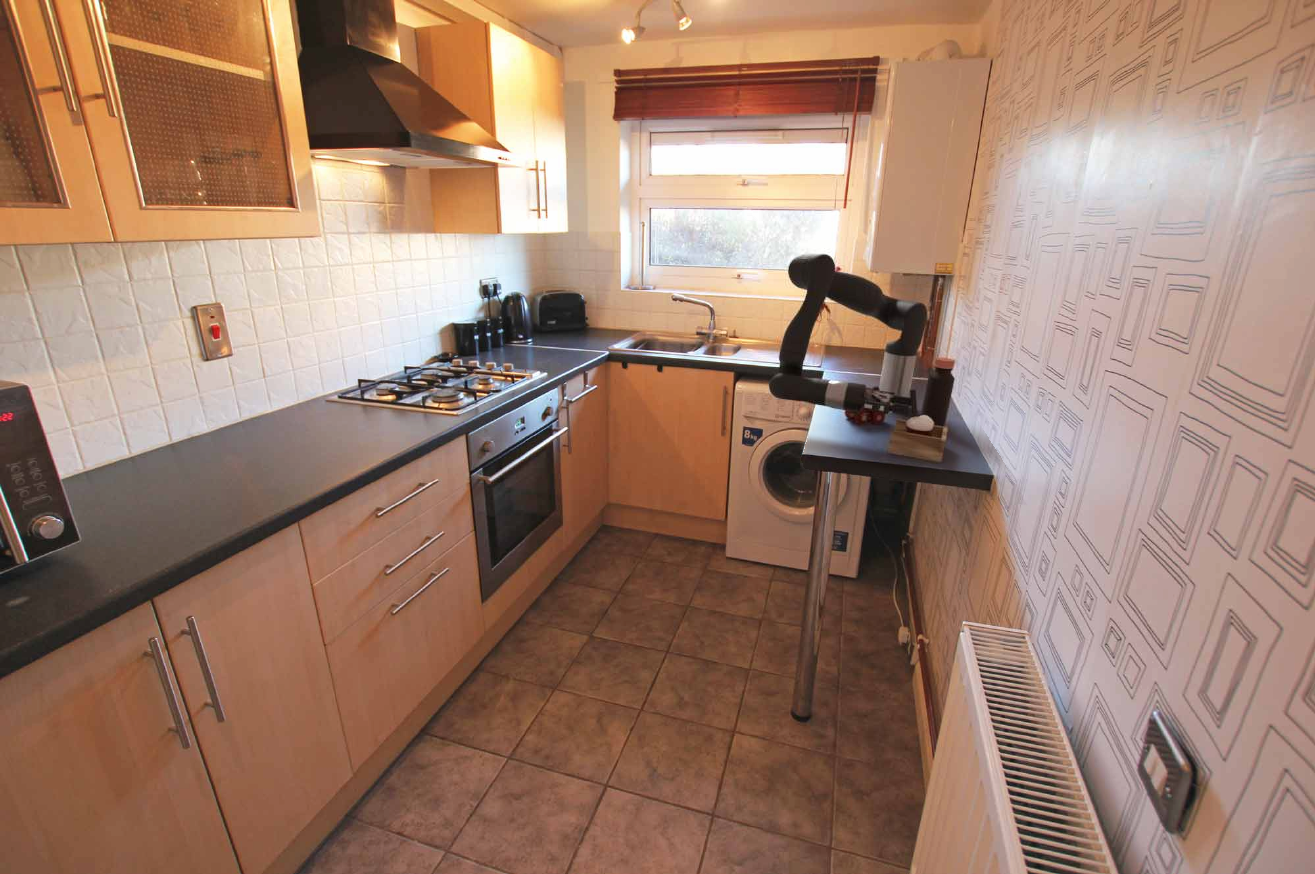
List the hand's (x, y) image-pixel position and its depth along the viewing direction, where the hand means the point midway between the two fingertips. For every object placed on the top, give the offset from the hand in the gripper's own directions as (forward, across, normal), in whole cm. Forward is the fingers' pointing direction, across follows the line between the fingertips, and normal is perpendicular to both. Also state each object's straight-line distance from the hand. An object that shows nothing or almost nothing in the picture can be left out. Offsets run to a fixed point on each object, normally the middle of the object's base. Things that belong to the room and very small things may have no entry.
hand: (910, 406), depth 154 cm
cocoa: (+3, 0, +9) cm, 9 cm away
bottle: (+6, +23, +11) cm, 26 cm away
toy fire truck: (-12, +18, +11) cm, 25 cm away
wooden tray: (+3, 0, +11) cm, 11 cm away
